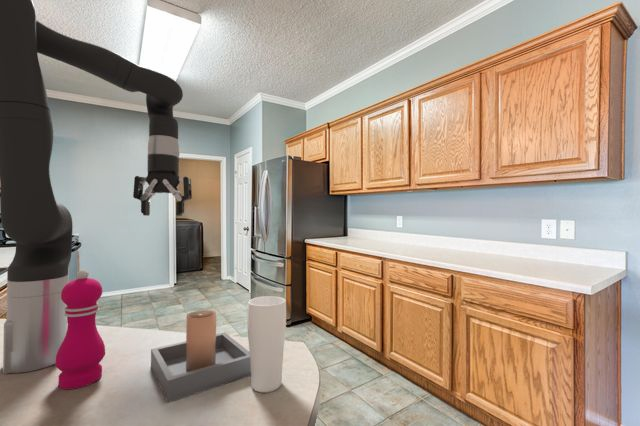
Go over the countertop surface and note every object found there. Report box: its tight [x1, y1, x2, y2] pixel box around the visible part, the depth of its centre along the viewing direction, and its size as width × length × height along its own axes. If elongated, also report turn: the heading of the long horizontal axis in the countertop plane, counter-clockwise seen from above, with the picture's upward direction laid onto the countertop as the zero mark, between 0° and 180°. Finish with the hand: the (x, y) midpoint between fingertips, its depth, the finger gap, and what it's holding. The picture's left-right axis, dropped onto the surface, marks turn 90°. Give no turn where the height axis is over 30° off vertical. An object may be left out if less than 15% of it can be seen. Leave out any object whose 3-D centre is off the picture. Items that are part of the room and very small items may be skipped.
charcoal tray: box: [150, 332, 251, 403], centre depth 60 cm, size 15×15×4 cm
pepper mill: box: [54, 269, 106, 390], centre depth 57 cm, size 7×7×20 cm
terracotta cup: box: [185, 309, 217, 372], centre depth 61 cm, size 5×5×10 cm
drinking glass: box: [246, 295, 287, 393], centre depth 55 cm, size 7×7×15 cm
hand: (162, 215), depth 83 cm, fingers open, 8 cm apart
